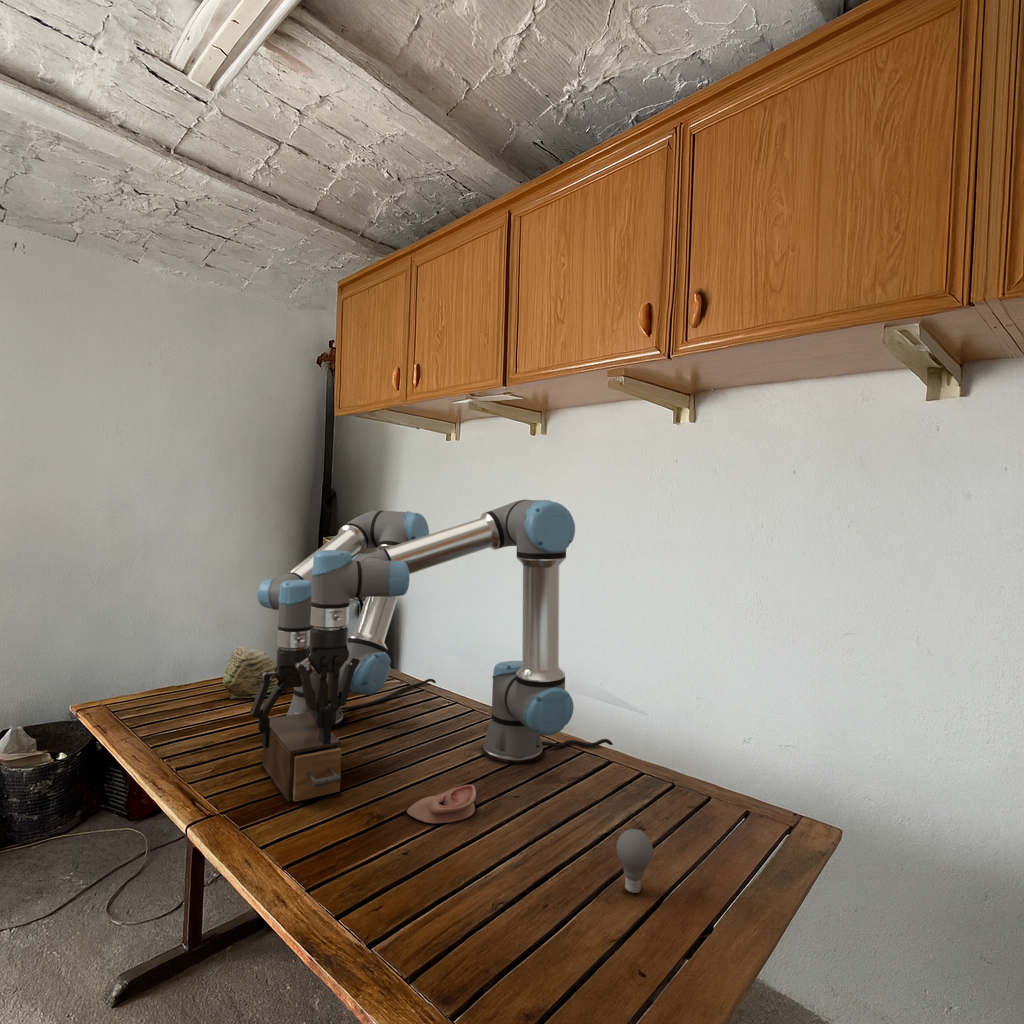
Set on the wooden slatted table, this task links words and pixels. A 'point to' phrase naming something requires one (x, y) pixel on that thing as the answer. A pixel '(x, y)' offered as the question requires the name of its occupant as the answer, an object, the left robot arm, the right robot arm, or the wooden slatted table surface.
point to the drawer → (316, 773)
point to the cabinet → (290, 747)
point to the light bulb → (634, 857)
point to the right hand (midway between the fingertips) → (324, 741)
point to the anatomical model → (445, 806)
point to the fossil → (247, 672)
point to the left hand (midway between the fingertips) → (290, 740)
